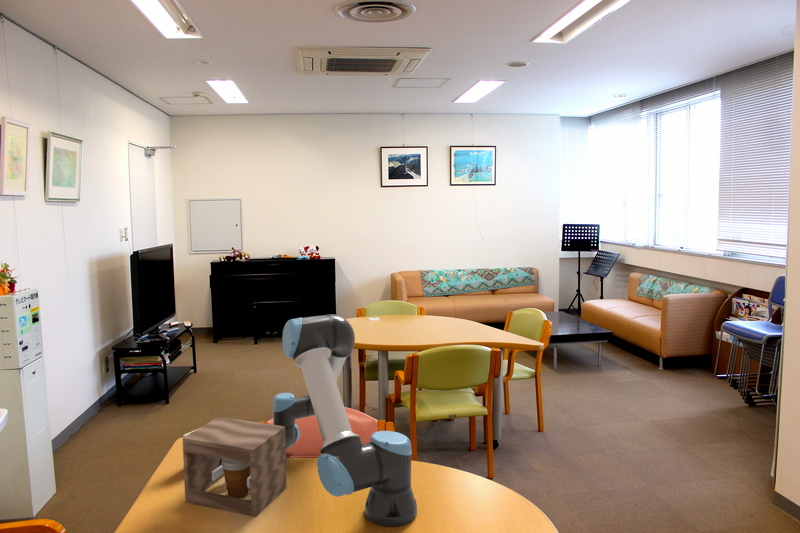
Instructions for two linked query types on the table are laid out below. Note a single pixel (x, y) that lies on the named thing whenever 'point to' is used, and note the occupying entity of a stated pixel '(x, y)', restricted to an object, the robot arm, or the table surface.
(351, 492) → the robot arm
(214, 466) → the walnut cubby
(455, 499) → the table surface
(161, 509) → the table surface
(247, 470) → the disposable coffee cup
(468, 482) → the table surface
